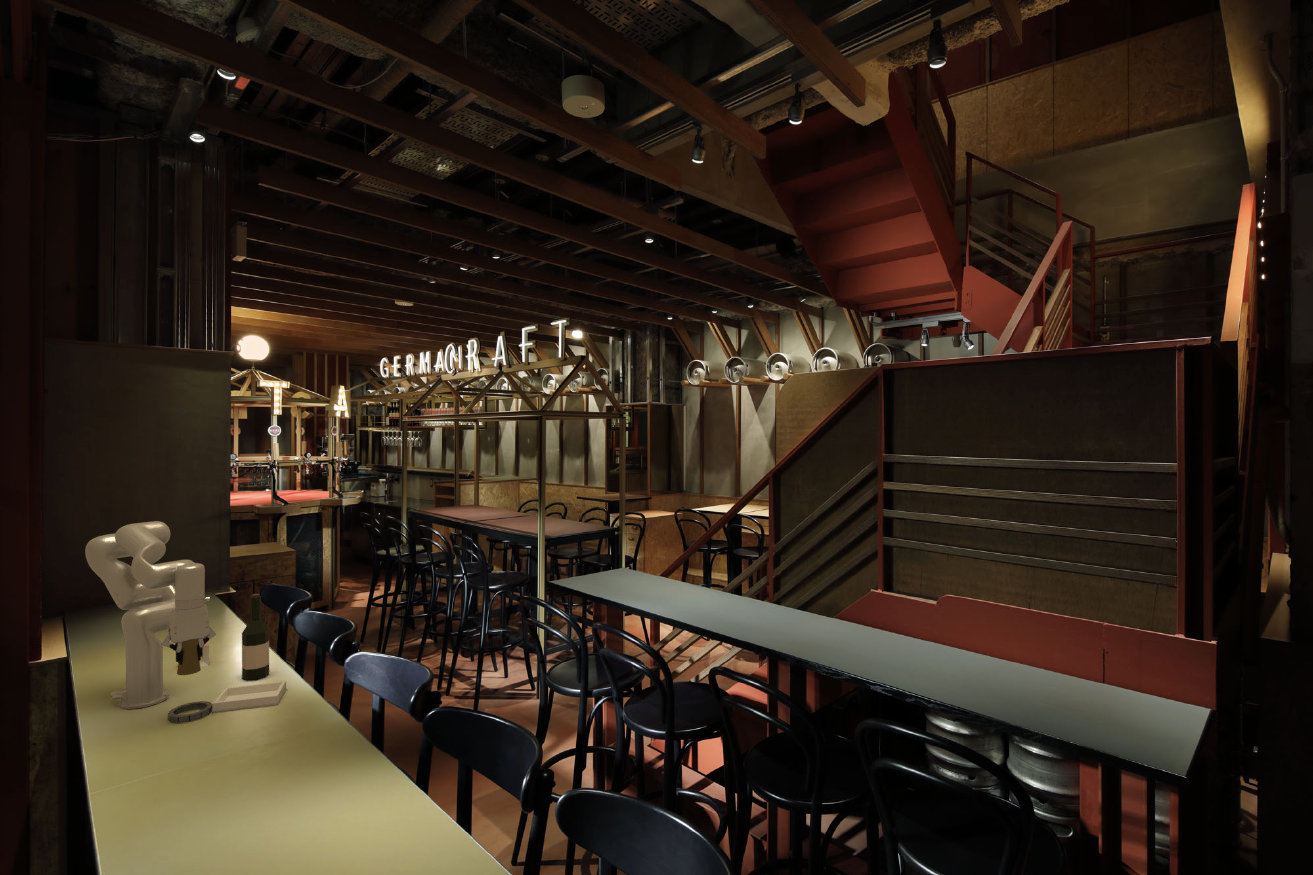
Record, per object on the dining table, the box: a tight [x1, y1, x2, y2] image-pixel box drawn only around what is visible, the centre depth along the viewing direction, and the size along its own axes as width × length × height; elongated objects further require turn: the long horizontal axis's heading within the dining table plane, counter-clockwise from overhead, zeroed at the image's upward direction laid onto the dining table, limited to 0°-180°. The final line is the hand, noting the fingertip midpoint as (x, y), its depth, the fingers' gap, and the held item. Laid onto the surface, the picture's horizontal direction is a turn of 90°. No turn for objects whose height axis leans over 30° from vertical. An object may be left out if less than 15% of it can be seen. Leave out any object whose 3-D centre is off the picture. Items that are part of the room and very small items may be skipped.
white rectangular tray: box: [211, 680, 287, 714], centre depth 208 cm, size 18×13×3 cm
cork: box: [176, 639, 202, 676], centre depth 198 cm, size 6×6×11 cm
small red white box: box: [200, 641, 210, 668], centre depth 240 cm, size 8×8×8 cm
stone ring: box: [167, 700, 213, 724], centre depth 198 cm, size 11×11×2 cm
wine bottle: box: [241, 593, 270, 682], centre depth 229 cm, size 8×8×30 cm
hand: (189, 660), depth 198 cm, fingers closed on cork, 3 cm apart
